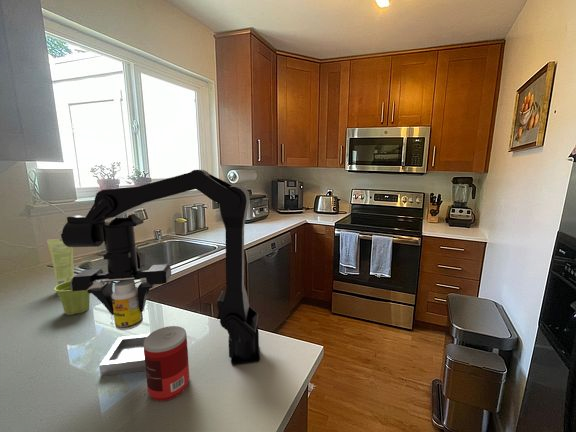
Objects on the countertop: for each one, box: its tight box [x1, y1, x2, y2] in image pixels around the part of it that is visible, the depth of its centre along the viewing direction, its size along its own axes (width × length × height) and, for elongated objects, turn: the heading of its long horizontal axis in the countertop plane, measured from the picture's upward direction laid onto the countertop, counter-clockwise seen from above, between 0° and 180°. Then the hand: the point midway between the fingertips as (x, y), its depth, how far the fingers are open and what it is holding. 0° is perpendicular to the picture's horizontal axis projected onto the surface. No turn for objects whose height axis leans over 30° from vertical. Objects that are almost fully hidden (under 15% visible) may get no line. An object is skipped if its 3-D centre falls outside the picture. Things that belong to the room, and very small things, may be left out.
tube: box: [46, 238, 75, 286], centre depth 102 cm, size 6×5×20 cm
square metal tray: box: [99, 333, 150, 377], centre depth 66 cm, size 11×10×3 cm
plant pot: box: [53, 281, 91, 316], centre depth 87 cm, size 9×9×9 cm
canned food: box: [143, 325, 190, 402], centre depth 56 cm, size 8×8×11 cm
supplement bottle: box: [112, 280, 144, 331], centre depth 64 cm, size 6×6×10 cm
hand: (128, 312), depth 64 cm, fingers closed on supplement bottle, 6 cm apart
